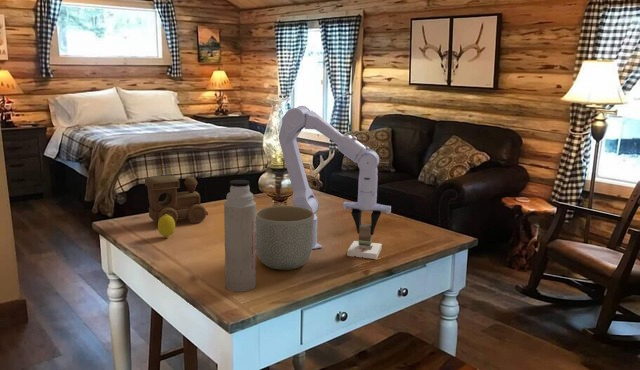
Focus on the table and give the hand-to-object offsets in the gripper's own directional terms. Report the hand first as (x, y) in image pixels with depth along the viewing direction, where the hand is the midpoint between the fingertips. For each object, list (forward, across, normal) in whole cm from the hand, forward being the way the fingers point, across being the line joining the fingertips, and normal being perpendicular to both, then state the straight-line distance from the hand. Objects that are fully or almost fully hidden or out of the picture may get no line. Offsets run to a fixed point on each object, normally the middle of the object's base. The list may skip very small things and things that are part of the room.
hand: (365, 233), depth 170 cm
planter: (+6, +20, +18) cm, 28 cm away
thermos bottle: (+6, +26, +36) cm, 45 cm away
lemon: (+6, +64, +8) cm, 65 cm away
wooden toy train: (+6, +70, -9) cm, 71 cm away
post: (+3, 0, 0) cm, 3 cm away
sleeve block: (+6, 0, 0) cm, 6 cm away
